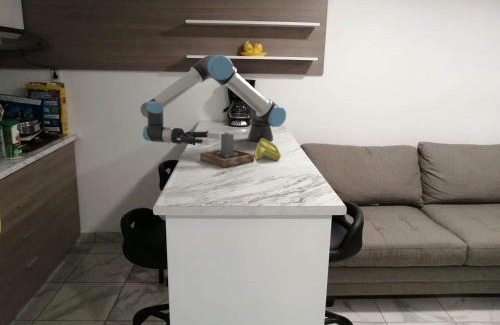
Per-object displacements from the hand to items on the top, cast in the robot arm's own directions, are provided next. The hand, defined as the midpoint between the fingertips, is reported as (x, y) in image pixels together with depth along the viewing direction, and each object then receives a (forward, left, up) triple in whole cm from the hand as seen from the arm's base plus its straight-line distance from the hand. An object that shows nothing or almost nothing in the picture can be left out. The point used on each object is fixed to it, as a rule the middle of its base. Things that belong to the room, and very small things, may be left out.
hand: (215, 138), depth 183 cm
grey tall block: (-3, +5, -9) cm, 11 cm away
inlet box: (-3, +5, -10) cm, 12 cm away
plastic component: (-25, +11, -11) cm, 29 cm away
